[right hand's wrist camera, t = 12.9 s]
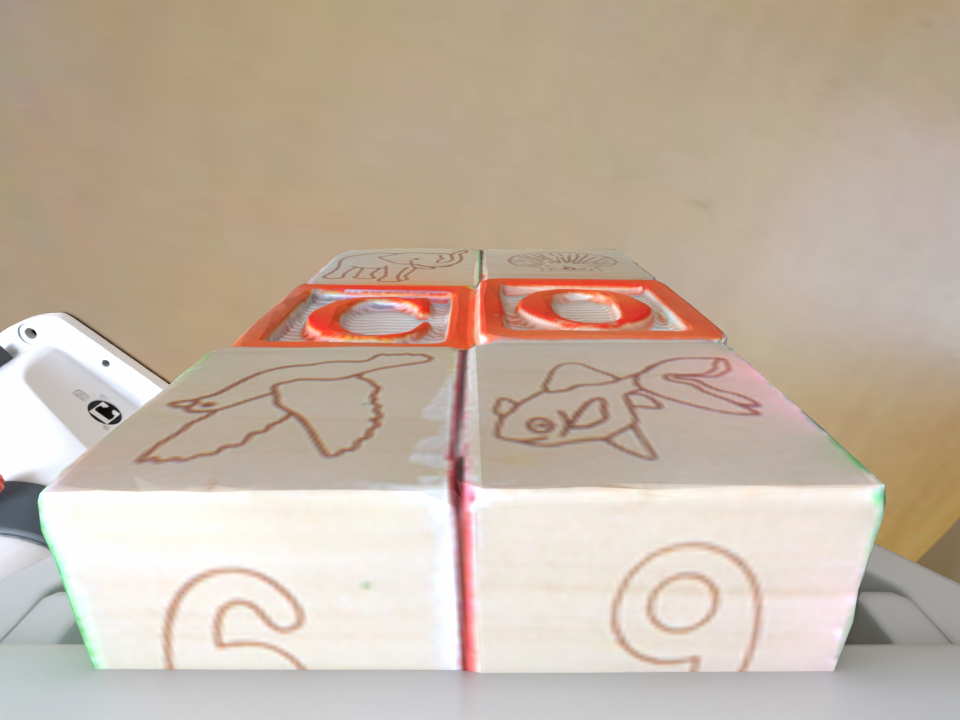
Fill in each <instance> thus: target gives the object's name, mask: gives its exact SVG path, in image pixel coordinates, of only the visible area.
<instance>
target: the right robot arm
mask: <svg viewBox="0 0 960 720" xmlns="http://www.w3.org/2000/svg"><path fill="white" fill-rule="evenodd" d="M32 329H34V330H35V331H36V333H37V335H35V334H34V333H33V332H32ZM168 385H169V384H168V383H166V382H165V381H163V380H162V379H161V378H159V377H158V376H156V375H155V374H153V373H152V372H151V371H149V370H148V369H146V368H145V367H143V366H142V365H141V364H139V363H138V362H136V361H135V360H133V359H132V358H131V357H129V356H128V355H126V354H125V353H123V352H122V351H121V350H119V349H118V348H116V347H115V346H113V345H112V344H111V343H109V342H108V341H106V340H105V339H103V338H102V337H101V336H99V335H98V334H96V333H95V332H93V331H92V330H91V329H89V328H88V327H86V326H85V325H83V324H82V323H80V322H79V321H78V320H76V319H75V318H73V317H71V316H70V315H68V314H66V313H61V312H57V313H46V314H41V315H36V316H33V317H30V318H27V319H25V320H22V321H20V322H18V323H17V324H15V325H13V326H11V327H9V328H8V329H6V330H4V331H3V332H1V333H0V720H960V584H959V583H957V582H955V581H953V580H951V579H948V578H946V577H944V576H942V575H940V574H938V573H936V572H934V571H932V570H930V569H927V568H925V567H923V566H921V565H919V564H917V563H915V562H913V561H911V560H909V559H906V558H904V557H902V556H900V555H898V554H896V553H894V552H892V551H890V550H888V549H885V548H883V547H881V546H879V545H877V544H875V543H874V546H873V549H872V552H871V556H870V559H869V562H868V565H867V569H866V572H865V575H864V577H863V580H862V582H861V584H860V586H859V589H858V594H857V601H856V607H855V614H854V620H853V623H852V626H851V628H850V631H849V633H848V636H847V638H846V641H845V643H844V646H843V648H842V651H841V654H840V656H839V659H838V661H837V664H836V667H835V670H834V671H794V672H625V673H478V672H472V671H464V670H176V669H94V668H93V666H92V663H91V660H90V658H89V655H88V652H87V649H86V647H85V644H84V641H83V638H82V636H81V633H80V630H79V627H78V625H77V622H76V619H75V616H74V614H73V611H72V608H71V605H70V602H69V599H68V597H67V594H66V591H65V588H64V585H63V582H62V579H61V577H60V574H59V571H58V568H57V565H56V562H55V560H54V557H53V555H52V553H51V551H50V548H49V546H48V544H47V542H46V540H45V538H44V535H43V533H42V531H41V525H40V517H39V508H38V498H39V494H40V493H41V492H42V491H43V490H44V489H45V487H46V486H47V485H48V484H49V483H50V482H51V481H52V480H53V479H54V478H55V477H56V476H57V475H58V474H59V473H60V471H61V470H63V469H64V468H65V467H66V466H68V465H69V464H70V463H72V462H73V461H74V460H75V459H77V458H78V457H79V456H80V455H82V454H83V453H84V452H85V451H87V450H88V449H89V448H90V447H92V446H93V445H94V444H95V443H97V442H98V441H99V440H101V439H102V438H103V437H104V436H106V435H107V434H108V433H109V432H111V431H112V430H113V429H114V428H116V427H117V426H118V425H119V424H121V423H122V422H123V421H124V420H126V419H127V418H128V417H129V416H130V415H132V414H133V413H134V412H135V411H137V410H138V409H139V408H140V407H141V406H143V405H144V404H145V403H146V402H148V401H149V400H150V399H152V398H153V397H154V396H155V395H157V394H158V393H159V392H161V391H162V390H163V389H164V388H166V387H167V386H168Z"/></svg>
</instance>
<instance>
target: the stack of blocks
mask: <svg viewBox="0 0 960 720" xmlns="http://www.w3.org/2000/svg"><path fill="white" fill-rule="evenodd" d="M726 344H727V336H726V335H725V334H724V333H723V332H722V331H721V330H720V329H719V328H718V327H717V326H716V325H714V324H713V323H712V322H711V321H709V320H708V319H707V318H706V317H705V316H703V315H702V314H701V313H700V312H699V311H697V310H696V309H695V308H694V307H693V306H691V305H690V304H689V303H688V302H686V301H685V300H684V299H683V298H681V297H680V296H679V295H677V294H676V293H675V292H674V291H672V290H671V289H670V288H669V287H668V286H666V285H665V284H663V283H661V282H659V281H656V280H655V277H653V276H652V275H651V274H649V273H648V272H646V271H645V270H644V269H642V268H641V267H640V266H639V265H638V264H637V263H635V262H633V261H632V260H631V259H629V258H628V257H627V256H626V255H624V254H623V253H622V252H621V251H618V250H615V249H608V250H476V249H441V248H409V249H370V250H354V251H346V252H343V253H340V254H338V255H337V256H336V257H334V258H333V259H332V260H331V261H329V262H328V263H327V264H326V265H325V266H324V267H323V268H322V269H321V270H320V271H319V272H318V273H317V274H316V275H315V276H313V277H312V279H310V280H309V281H308V282H307V283H306V284H303V285H300V286H298V287H296V288H295V289H293V290H292V291H291V292H290V293H289V294H288V295H287V296H286V297H285V298H283V299H282V300H281V301H280V302H279V303H277V304H276V305H275V306H274V307H273V308H272V309H271V310H270V311H268V312H267V313H266V314H265V315H264V316H262V317H261V318H260V319H259V320H258V321H257V322H255V323H254V324H253V325H252V326H251V327H250V328H249V329H248V330H247V331H246V332H245V333H244V334H243V335H242V336H241V337H240V338H239V339H238V340H237V341H236V342H235V343H234V344H233V345H232V347H231V348H225V349H219V350H217V351H214V352H211V353H208V354H205V355H204V356H203V357H202V358H201V359H200V360H199V361H198V362H197V363H195V364H194V365H193V366H192V367H191V368H189V369H188V370H187V371H185V372H184V373H183V374H182V375H180V376H179V377H178V378H177V379H176V380H175V381H173V382H172V383H171V384H170V385H168V386H167V387H166V388H164V389H163V390H162V391H161V392H159V393H158V394H157V395H155V396H154V397H153V398H152V399H150V400H149V401H148V402H146V403H145V404H144V405H143V406H141V407H140V408H139V409H138V410H137V411H135V412H134V413H133V414H132V415H130V416H129V417H128V418H127V419H126V420H124V421H123V422H122V423H121V424H119V425H118V426H117V427H116V428H114V429H113V430H112V431H111V432H109V433H108V434H107V435H106V436H104V437H103V438H102V439H101V440H99V441H98V442H97V443H95V444H94V445H93V446H92V447H90V448H89V449H88V450H87V451H85V452H84V453H83V454H82V455H80V456H79V457H78V458H77V459H75V460H74V461H73V462H72V463H70V464H69V465H68V466H66V467H65V468H64V469H63V470H61V471H60V473H59V474H58V475H57V476H56V477H55V478H54V479H53V480H52V481H51V482H50V483H49V484H48V485H47V486H46V487H45V489H44V490H43V491H42V492H41V493H40V494H39V498H38V508H39V517H40V525H41V531H42V533H43V535H44V538H45V540H46V542H47V544H48V546H49V548H50V551H51V553H52V555H53V557H54V560H55V562H56V565H57V568H58V571H59V574H60V577H61V579H62V582H63V585H64V588H65V591H66V594H67V597H68V599H69V602H70V605H71V608H72V611H73V614H74V616H75V619H76V622H77V625H78V627H79V630H80V633H81V636H82V638H83V641H84V644H85V647H86V649H87V652H88V655H89V658H90V660H91V663H92V666H93V668H94V669H176V670H464V671H472V672H478V673H625V672H794V671H834V670H835V667H836V664H837V661H838V659H839V656H840V654H841V651H842V648H843V646H844V643H845V641H846V638H847V636H848V633H849V631H850V628H851V626H852V623H853V620H854V614H855V607H856V601H857V594H858V589H859V586H860V584H861V582H862V580H863V577H864V575H865V572H866V569H867V565H868V562H869V559H870V556H871V552H872V549H873V546H874V543H875V540H876V537H877V534H878V531H879V528H880V525H881V522H882V519H883V516H884V508H885V501H886V497H885V484H883V483H882V482H881V481H880V480H879V479H878V478H877V477H875V476H874V475H873V474H872V473H871V472H870V471H869V470H867V469H866V468H865V467H864V466H863V465H862V464H861V463H860V462H858V461H857V460H856V459H855V458H854V457H853V456H852V455H851V454H850V453H849V452H848V451H846V450H845V449H844V448H843V447H842V446H841V445H840V444H839V443H838V442H837V441H836V440H834V439H833V438H832V437H831V436H830V435H829V434H828V433H827V432H826V431H825V430H824V429H823V428H822V427H820V426H819V425H818V424H817V423H816V422H815V421H814V420H812V419H811V418H810V417H809V416H808V415H807V414H806V413H805V412H803V411H802V410H801V409H800V408H799V407H798V406H797V405H795V404H794V403H793V402H792V401H791V400H790V399H788V398H787V397H786V396H785V395H784V394H783V393H781V392H780V391H779V390H778V389H777V388H776V387H774V386H773V385H772V384H771V383H770V382H769V381H768V380H767V379H766V378H765V377H764V376H763V375H761V374H760V373H759V372H758V371H757V370H756V369H755V368H754V367H753V366H752V365H751V364H749V363H748V362H747V361H746V360H744V359H743V358H742V357H740V356H738V355H737V354H735V352H734V351H733V349H732V348H730V347H728V346H727V345H726Z"/></svg>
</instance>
